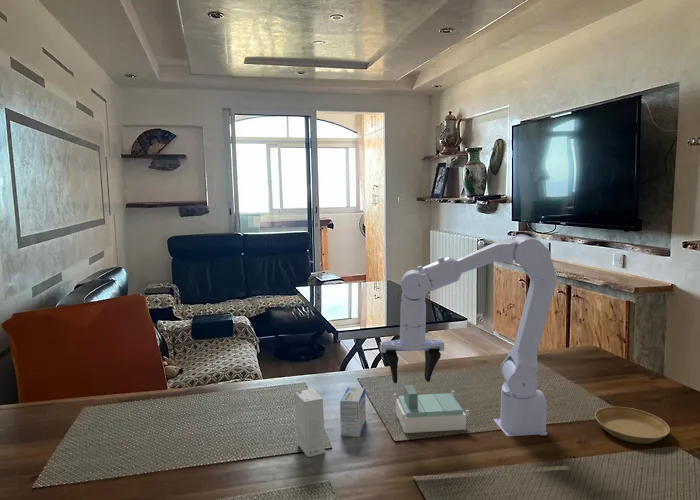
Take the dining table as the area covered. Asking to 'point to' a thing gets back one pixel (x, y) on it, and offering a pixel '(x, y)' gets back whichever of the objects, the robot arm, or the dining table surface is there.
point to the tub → (430, 421)
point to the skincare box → (310, 422)
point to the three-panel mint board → (428, 403)
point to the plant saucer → (632, 424)
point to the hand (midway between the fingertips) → (411, 380)
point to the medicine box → (353, 412)
